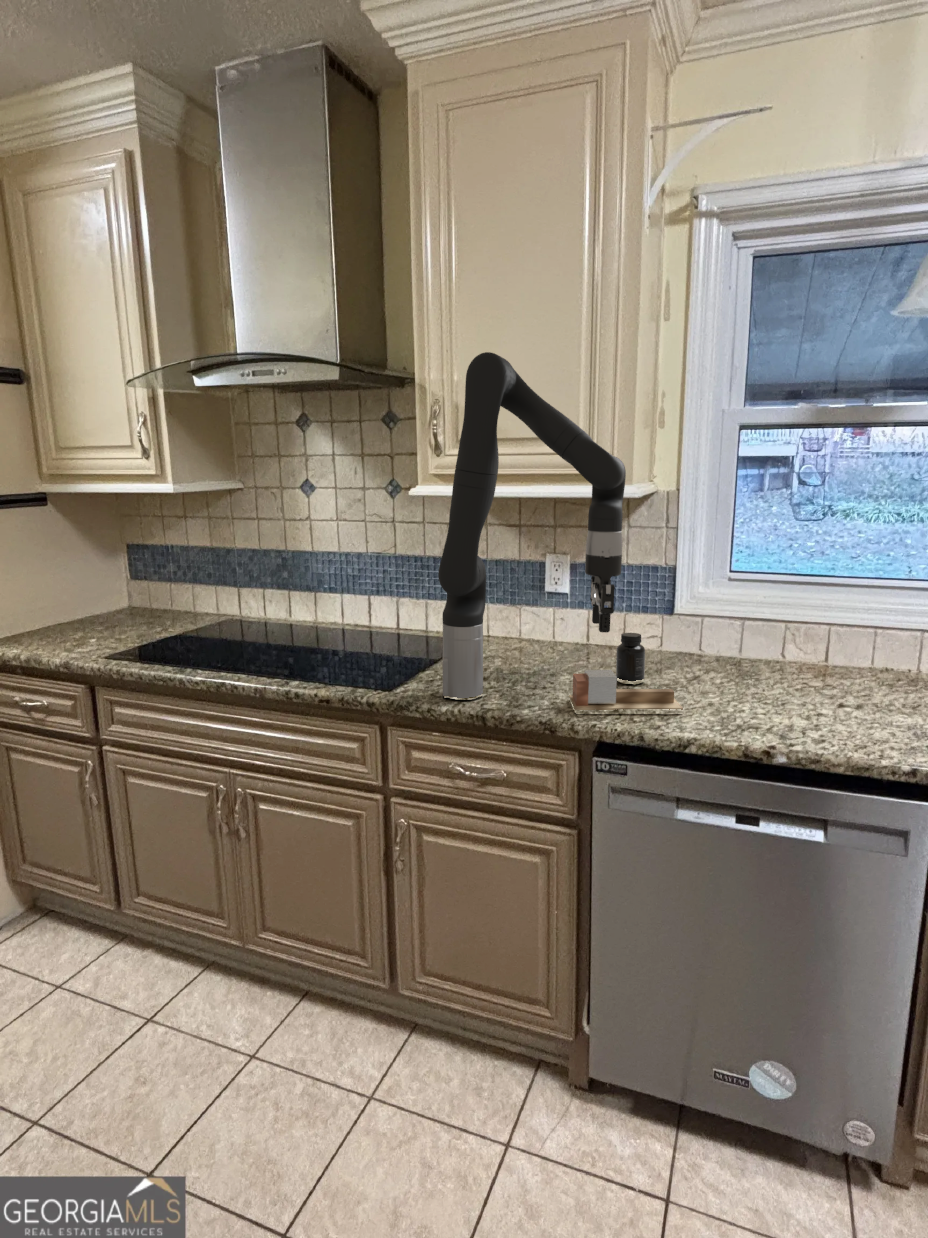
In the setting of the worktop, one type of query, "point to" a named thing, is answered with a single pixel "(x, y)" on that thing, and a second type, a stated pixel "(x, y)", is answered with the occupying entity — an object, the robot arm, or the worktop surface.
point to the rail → (628, 706)
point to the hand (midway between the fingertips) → (600, 627)
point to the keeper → (601, 686)
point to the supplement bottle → (630, 658)
